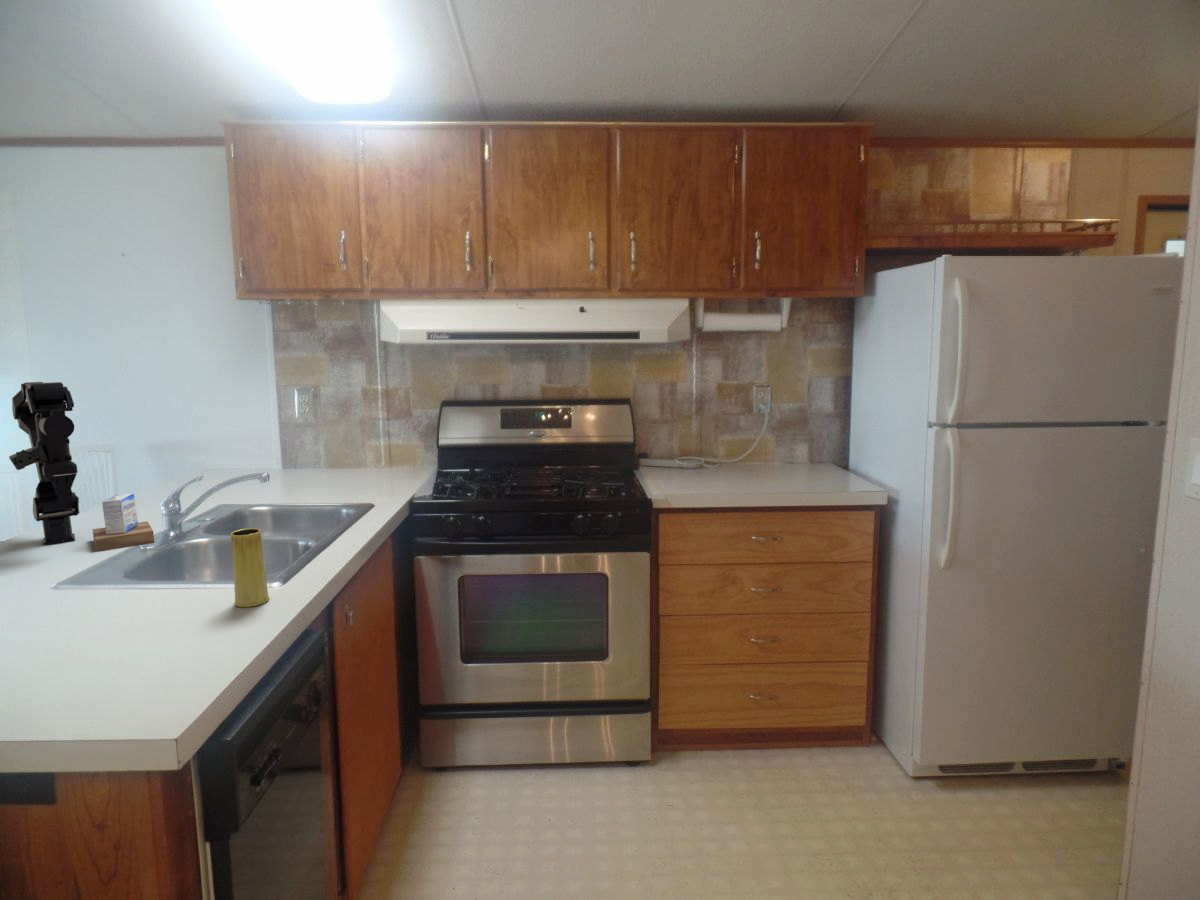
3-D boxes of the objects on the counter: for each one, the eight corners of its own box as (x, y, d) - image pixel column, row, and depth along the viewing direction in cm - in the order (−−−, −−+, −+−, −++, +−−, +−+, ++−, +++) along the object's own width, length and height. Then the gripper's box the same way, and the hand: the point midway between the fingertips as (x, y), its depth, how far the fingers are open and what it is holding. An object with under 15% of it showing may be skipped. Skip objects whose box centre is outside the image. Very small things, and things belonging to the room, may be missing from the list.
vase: (275, 596, 141) (269, 527, 138) (257, 608, 135) (251, 536, 132) (246, 595, 141) (240, 527, 139) (227, 607, 135) (220, 536, 133)
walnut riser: (93, 540, 181) (92, 529, 180) (148, 532, 188) (147, 521, 187) (96, 551, 171) (95, 539, 171) (154, 542, 178) (153, 531, 178)
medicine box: (125, 533, 176) (121, 499, 174) (105, 534, 175) (101, 501, 173) (138, 525, 183) (134, 493, 182) (119, 526, 182) (115, 494, 181)
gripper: (6, 434, 170) (16, 497, 172) (11, 443, 156) (21, 511, 159) (64, 429, 177) (72, 490, 180) (73, 438, 163) (81, 503, 166)
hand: (61, 498), depth 171 cm, fingers open, 9 cm apart
